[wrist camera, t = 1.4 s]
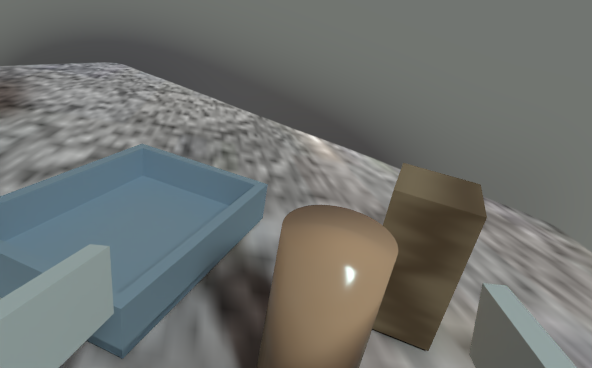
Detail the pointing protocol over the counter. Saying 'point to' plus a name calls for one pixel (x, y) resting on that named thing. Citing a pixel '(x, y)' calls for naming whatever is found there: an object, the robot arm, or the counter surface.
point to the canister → (325, 288)
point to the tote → (130, 230)
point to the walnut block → (427, 250)
